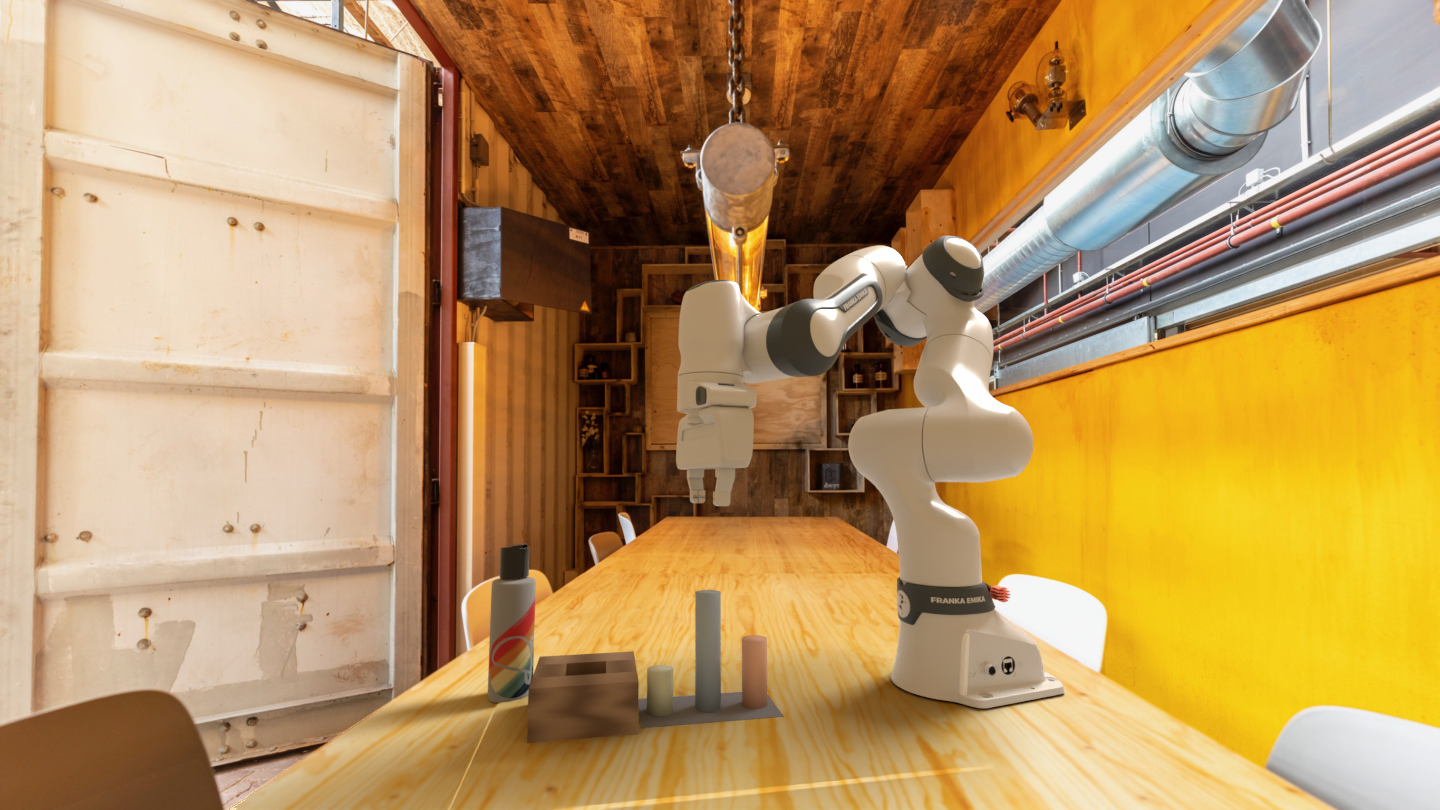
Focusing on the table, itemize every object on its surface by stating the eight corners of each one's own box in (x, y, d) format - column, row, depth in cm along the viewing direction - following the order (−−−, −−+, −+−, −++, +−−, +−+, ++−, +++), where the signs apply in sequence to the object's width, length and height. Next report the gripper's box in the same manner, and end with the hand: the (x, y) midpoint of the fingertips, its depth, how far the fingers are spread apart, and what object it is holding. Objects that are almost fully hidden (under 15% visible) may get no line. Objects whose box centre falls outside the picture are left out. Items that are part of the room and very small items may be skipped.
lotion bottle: (518, 705, 78) (523, 546, 80) (478, 702, 79) (484, 545, 81) (540, 690, 84) (544, 541, 86) (502, 687, 85) (507, 540, 87)
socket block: (632, 698, 80) (633, 651, 81) (637, 737, 69) (638, 681, 69) (538, 705, 78) (539, 656, 79) (526, 746, 67) (528, 688, 67)
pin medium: (763, 698, 79) (763, 634, 80) (770, 707, 76) (769, 641, 77) (739, 700, 79) (739, 635, 80) (745, 709, 76) (744, 642, 76)
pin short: (671, 705, 77) (671, 664, 78) (674, 715, 74) (674, 672, 75) (645, 707, 76) (646, 665, 77) (647, 717, 73) (648, 673, 74)
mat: (764, 693, 82) (764, 690, 82) (784, 719, 73) (784, 716, 74) (637, 702, 79) (637, 699, 79) (641, 731, 70) (641, 727, 70)
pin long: (718, 701, 78) (718, 589, 80) (723, 711, 75) (722, 594, 77) (693, 703, 78) (693, 590, 79) (697, 713, 74) (697, 595, 76)
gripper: (666, 406, 90) (664, 501, 88) (713, 387, 71) (712, 508, 69) (707, 408, 92) (705, 501, 91) (763, 390, 73) (762, 507, 72)
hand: (708, 504), depth 80 cm, fingers open, 8 cm apart
